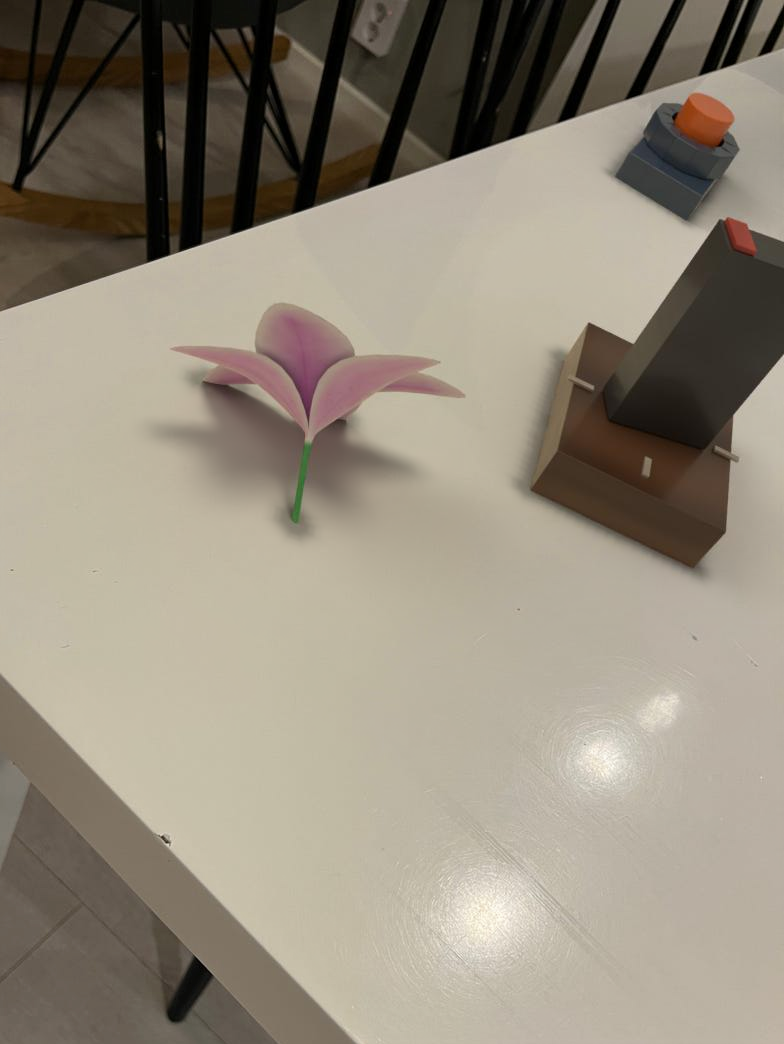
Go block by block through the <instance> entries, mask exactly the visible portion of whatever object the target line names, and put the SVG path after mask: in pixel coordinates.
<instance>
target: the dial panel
mask: <svg viewBox="0 0 784 1044" xmlns="http://www.w3.org/2000/svg"><path fill="white" fill-rule="evenodd" d="M633 344H634V343H633V342H630V341H628V340H626V339H625V338H622V337H621V336H619V335H617V334H615V333H612V332H611V331H610V332H609V331H608V330H606V329H604V328H602V327H600V326H598V325H596V324H594V323H592V322H589V321H588V322H587V323H586V325H585V326H584V329H582V331H581V333H580V334H579V336H578V337H577V339H576V341H574V344H573V345H572V347H571V348H570V350H569V352H568V354H567V355H566V357H565V358H564V359H563V361H562V362H563V363H562V366H561V370H560V373H559V378H558V382H557V385H556V389H555V393H554V396H553V401H552V404H551V408H550V413H549V415H548V420H547V423H546V427H545V431H544V435H543V438H542V443H541V447H540V451H539V455H538V457H537V458H538V459H537V462H536V466H535V469H534V474H533V478H532V481H531V485H530V491H531V492H533V493H534V494H537V495H539V496H541V497H543V498H546V499H547V500H549V501H552V502H554V503H556V504H558V505H560V506H562V507H564V508H567V509H568V510H570V511H573V512H574V513H576V514H579V515H581V516H583V517H585V518H587V519H589V520H591V521H593V522H595V523H597V524H600V525H602V526H604V527H605V528H608V529H610V530H612V531H614V532H616V533H618V534H620V535H622V536H625V537H626V538H628V539H631V540H632V541H635V542H637V543H639V544H641V545H644V546H645V547H647V548H650V549H651V550H654V551H655V552H658V553H660V554H661V555H664V556H666V557H668V558H670V559H672V560H674V561H676V562H678V563H681V564H682V565H685V566H686V567H689V568H691V569H694V568H695V567H696V566H697V565H698V563H699V562H701V560H702V559H703V558H704V557H705V556H706V555H707V554H708V553H709V552H710V551H711V549H713V547H714V546H715V545H716V544H717V543H718V542H719V541H720V540H721V539H722V538H723V537H724V536H725V534H726V533H727V521H728V507H729V506H728V505H729V492H730V491H729V490H730V477H731V476H730V475H731V463H732V462H734V463H736V464H737V463H739V462H740V456H738V455H736V454H735V453H732V447H733V446H732V445H733V429H734V415H733V416H732V418H731V419H730V420H729V421H728V422H727V424H726V425H725V426H724V427H723V428H722V430H721V431H720V432H719V433H718V434H717V436H716V437H715V438H714V439H713V440H712V442H711V443H710V444H709V445H708V446H707V448H706V449H701V448H698V447H694V446H691V445H688V444H684V443H681V442H678V441H675V440H671V439H668V438H665V437H662V436H658V435H655V434H652V433H649V432H645V431H642V430H639V429H635V428H632V427H629V426H626V425H622V424H619V423H616V422H613V421H609V419H608V413H607V408H606V402H605V397H604V392H603V388H604V386H605V385H606V383H607V382H608V380H609V379H610V377H611V376H612V375H613V373H614V372H615V370H616V369H617V367H618V366H619V364H620V363H621V361H622V360H623V359H624V357H625V356H626V354H627V353H628V351H629V350H630V348H631V347H632V345H633ZM731 461H732V462H731Z"/></svg>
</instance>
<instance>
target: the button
mask: <svg viewBox="0 0 784 1044" xmlns="http://www.w3.org/2000/svg"><path fill="white" fill-rule="evenodd" d="M682 105H683V107H682V108H681V110H680V112H679V113H678V115H677V117H676V118H675V120H674V124H675V126H676V127H677V128H678V129H679V130H680V131H681V132H682V133H684V134H685V135H687V136H688V137H690V138H692V139H693V140H695V141H696V142H698V143H701V144H704V145H707V146H710V147H717V146H718V145H719V143H720V142H721V140H722V139H723V137H724V136H725V134H726V133H727V131H728V132H729V130H730V128H731V127H732V125H733V123H734V122H735V115H734V113H733V111H732V110H731V109H730V108H728V106H727V105H726V104H724V103H723V102H722V101H719V100H718V99H716V98H715V97H712V96H710V95H708V94H705V93H701V92H692V93H690V94H689V95H688V96H687V98H686V100H685V102H684V104H682Z"/></svg>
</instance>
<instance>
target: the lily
mask: <svg viewBox="0 0 784 1044" xmlns="http://www.w3.org/2000/svg"><path fill="white" fill-rule="evenodd" d="M254 347H255V348H254V349H255V351H252V350H247V349H241V348H235V347H226V346H212V345H181V346H173V347H171V348H169V350H171V351H173V352H176V353H179V354H180V353H181V354H184V355H187V356H190V357H193V358H197V359H200V360H203V361H206V362H209V363H212V364H214V365H215V364H216V365H217V366H215V367H213V368H212V369H210V371H208V373H207V374H205V375H204V378H203V379H202V381H203V382H206V383H210V384H216V385H224V386H225V385H226V386H230V385H231V386H233V385H237V386H238V385H257V386H258V387H260V389H262V390H263V391H264V392H266V393H267V394H268V395H269V396H270V397H271V398H272V399H273V400H274V401H275V402H276V403H278V404H279V406H281V407H282V408H283V409H284V411H285V412H286V413H287V414H288V415H289V416H290V417H291V418H292V419H293V420H294V421H295V422H296V423H297V424H298V425H299V426H300V427H301V429H302V430H303V432H304V435H305V436H304V444H303V449H302V455H301V461H300V467H299V473H298V478H297V485H296V491H295V497H294V503H293V510H292V517H291V521H292V523H293V524H298V523H299V520H300V514H301V507H302V502H303V496H304V488H305V483H306V477H307V472H308V465H309V458H310V455H311V451H312V449H311V448H312V445H313V441H314V439H315V438H316V436H317V434H318V433H319V432H320V431H322V430H323V429H325V428H326V427H328V426H329V425H330V424H332V423H334V422H335V421H336V420H345V421H346V420H348V419H349V418H350V417H351V416H353V414H354V413H355V412H356V411H357V410H358V409H359V408H360V407H361V405H362V404H363V402H365V401H366V400H368V399H369V398H370V397H372V396H374V395H375V394H376V393H408V394H409V393H410V394H420V395H428V396H437V397H444V398H446V397H447V398H455V399H466V398H467V395H466V393H464V392H463V391H462V390H460V389H458V388H457V387H455V386H453V385H452V384H450V383H448V382H446V381H444V380H442V379H439V378H437V377H436V376H435V377H434V376H433V375H430V374H426V373H421V371H423V370H426V369H429V368H432V367H434V366H437V365H441V363H442V362H441V361H440V360H438V359H434V358H430V357H423V356H418V355H417V356H416V355H401V354H363V355H356V353H355V348H354V346H353V344H352V342H351V341H350V339H349V338H348V336H347V335H346V334H345V333H343V331H341V329H339V327H337V326H336V325H334V324H333V323H332V322H331V321H328V320H327V319H325V318H324V317H322V316H320V315H319V314H317V313H314V312H312V311H310V310H308V309H307V308H304V307H302V306H298V305H295V304H294V303H288V302H276V303H273V304H271V305H269V307H267V309H266V310H265V311H264V312H263V314H262V316H261V318H260V320H259V322H258V324H257V328H256V330H255V337H254Z"/></svg>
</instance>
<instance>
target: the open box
mask: <svg viewBox="0 0 784 1044" xmlns="http://www.w3.org/2000/svg"><path fill="white" fill-rule="evenodd" d="M783 356H784V241H783V240H780V239H777V238H775V237H772V236H770V235H766V234H764V233H761V232H758V231H755V230H752V229H750V228H749V226H748V223H745V222H743V221H741V220H738V219H735V218H732V217H729V216H727V217H726V218H725V219H722V218H719V219H718V220H717V222H716V223H715V225H714V226H713V228H712V230H710V232H709V234H708V235H707V236H706V238H705V239H704V241H703V242H702V243H701V245H700V247H699V248H698V250H697V251H696V252H695V254H694V255H693V257H692V259H691V260H690V261H689V262H688V264H687V265H686V267H685V269H684V270H683V271H682V273H681V274H680V276H679V277H678V279H677V280H676V282H674V284H673V286H672V287H671V289H670V290H669V292H668V293H667V294H666V296H665V298H664V299H663V301H662V302H661V303H660V304H659V306H658V307H657V309H656V311H655V312H654V313H653V315H652V316H651V318H650V319H649V320H648V322H647V324H646V325H645V326H644V328H643V329H642V330H641V332H640V334H639V335H638V336H637V338H636V340H635V341H634V343H633V345H632V347H631V348H630V350H629V351H628V353H627V354H626V356H625V357H624V359H623V360H622V361H621V363H620V364H619V366H618V367H617V369H616V370H615V372H614V373H613V375H612V376H611V377H610V379H609V380H608V382H607V383H606V385H605V386H604V388H603V392H604V397H605V402H606V408H607V413H608V419H609V421H613V422H616V423H619V424H622V425H626V426H629V427H632V428H635V429H639V430H642V431H645V432H649V433H652V434H655V435H658V436H662V437H665V438H668V439H671V440H675V441H678V442H681V443H684V444H688V445H691V446H694V447H698V448H701V449H706V448H707V446H708V445H709V444H710V443H711V442H712V440H713V439H714V438H715V437H716V436H717V434H718V433H719V432H720V431H721V430H722V428H723V427H724V426H725V425H726V424H727V422H728V421H729V420H730V419H731V418H732V416H733V417H734V415H735V414H736V413H737V412H738V411H739V409H740V408H741V407H742V406H743V404H744V403H745V402H746V401H747V400H748V398H749V397H751V395H752V393H754V391H755V390H756V389H757V388H758V386H759V385H760V384H761V383H762V382H763V380H765V378H766V377H767V376H768V374H769V373H770V372H771V371H772V369H774V367H775V366H776V365H777V363H778V362H779V361H780V360H781V359H782V358H783Z"/></svg>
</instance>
